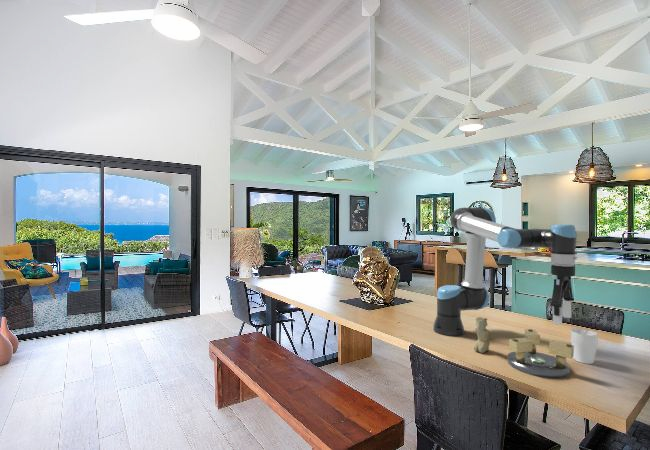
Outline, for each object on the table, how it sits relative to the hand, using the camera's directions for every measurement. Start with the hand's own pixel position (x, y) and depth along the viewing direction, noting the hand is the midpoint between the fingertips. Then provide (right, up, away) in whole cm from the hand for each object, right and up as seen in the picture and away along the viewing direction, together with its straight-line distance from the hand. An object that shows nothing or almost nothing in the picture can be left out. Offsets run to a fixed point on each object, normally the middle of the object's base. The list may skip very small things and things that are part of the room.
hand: (562, 320), depth 131 cm
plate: (-6, -20, +6) cm, 22 cm away
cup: (+17, -20, +12) cm, 29 cm away
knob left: (-13, -18, +5) cm, 23 cm away
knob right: (0, -18, 0) cm, 18 cm away
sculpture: (-21, -20, +22) cm, 36 cm away
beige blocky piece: (-3, -17, +14) cm, 23 cm away
